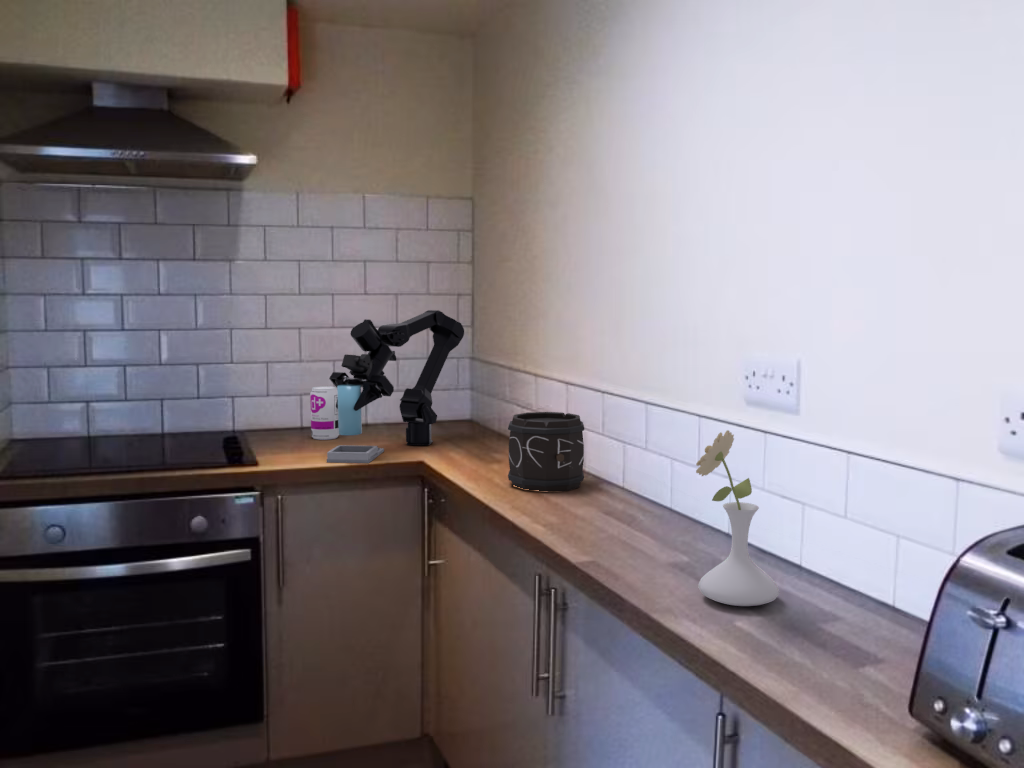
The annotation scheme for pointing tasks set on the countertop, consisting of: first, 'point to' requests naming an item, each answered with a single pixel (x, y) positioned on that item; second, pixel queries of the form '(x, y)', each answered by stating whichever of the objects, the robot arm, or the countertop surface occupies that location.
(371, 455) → the kitchen sink with drainboard
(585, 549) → the countertop surface
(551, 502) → the countertop surface
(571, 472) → the wooden barrel
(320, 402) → the supplement can
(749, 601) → the flower in vase
